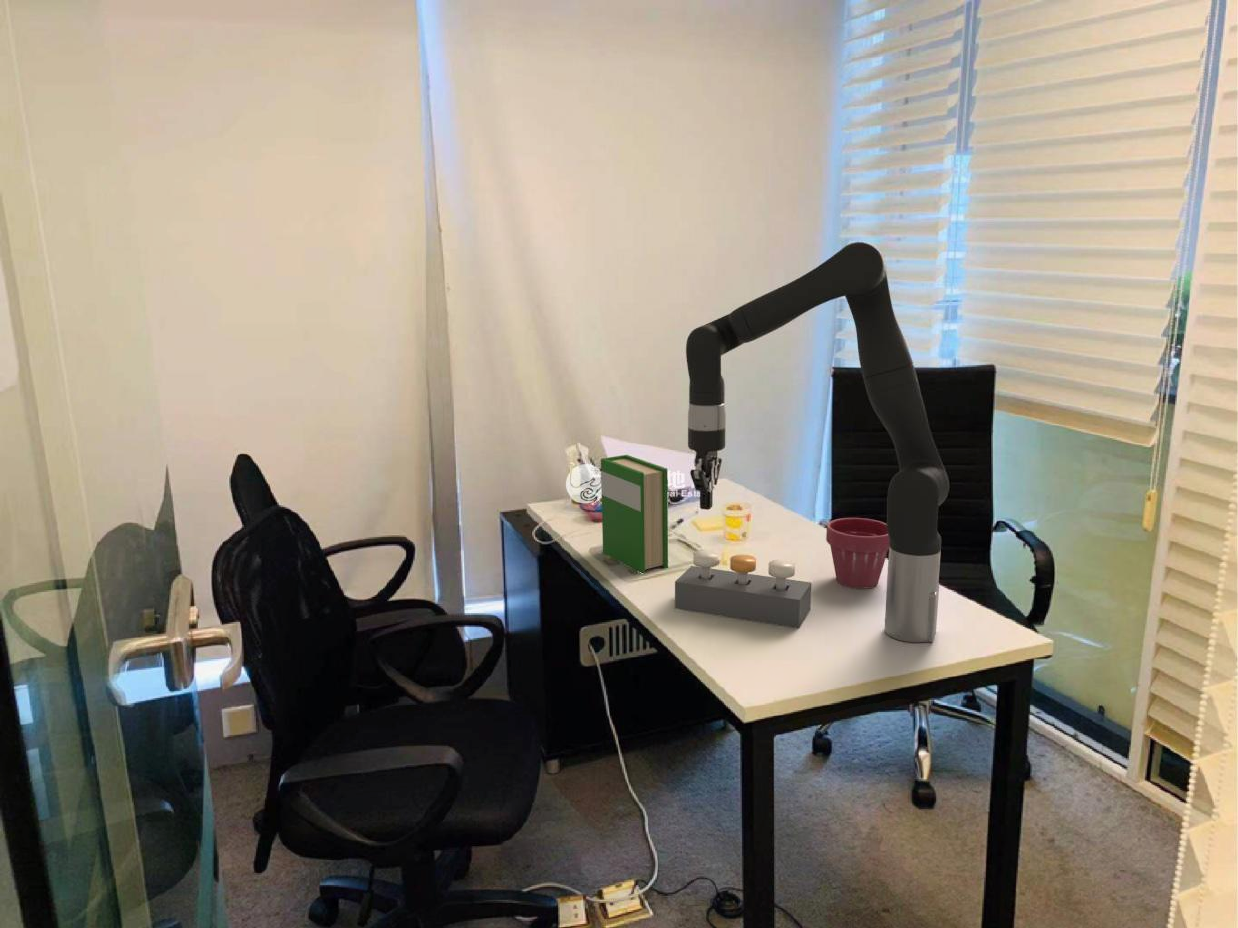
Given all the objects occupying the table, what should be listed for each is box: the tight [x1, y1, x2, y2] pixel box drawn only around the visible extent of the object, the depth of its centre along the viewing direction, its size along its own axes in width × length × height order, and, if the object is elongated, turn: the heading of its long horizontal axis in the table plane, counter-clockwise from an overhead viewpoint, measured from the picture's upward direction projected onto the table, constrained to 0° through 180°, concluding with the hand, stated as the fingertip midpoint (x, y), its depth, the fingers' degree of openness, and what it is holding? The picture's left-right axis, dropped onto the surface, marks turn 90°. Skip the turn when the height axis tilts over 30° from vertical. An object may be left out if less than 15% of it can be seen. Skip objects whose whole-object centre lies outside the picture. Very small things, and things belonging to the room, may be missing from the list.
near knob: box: [768, 559, 796, 591], centre depth 177 cm, size 5×5×7 cm
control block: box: [674, 565, 812, 629], centre depth 181 cm, size 26×10×6 cm, turn 65°
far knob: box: [692, 549, 720, 580], centre depth 183 cm, size 5×5×7 cm
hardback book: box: [600, 454, 669, 574], centre depth 209 cm, size 18×7×24 cm, turn 31°
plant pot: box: [825, 517, 889, 589], centre depth 194 cm, size 14×14×13 cm
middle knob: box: [729, 554, 757, 585], centre depth 180 cm, size 5×5×7 cm
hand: (706, 508), depth 180 cm, fingers closed
